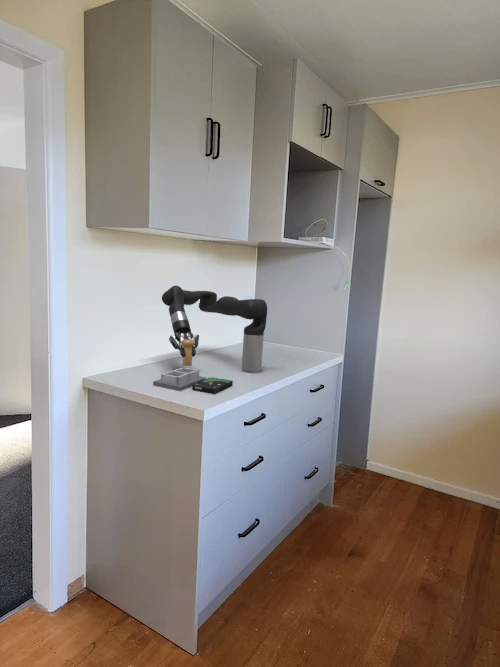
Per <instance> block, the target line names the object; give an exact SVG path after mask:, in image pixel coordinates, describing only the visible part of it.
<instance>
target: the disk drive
mask: <svg viewBox="0 0 500 667" xmlns="http://www.w3.org/2000/svg"><path fill="white" fill-rule="evenodd" d="M233 382H234V381H233V380H232V379H231V380H230V379H225V378H217V377H213V376H211V377H208V378H207V377H206V379H205V380H202V381H200V382H198V383H195V384H193V385H192V387H191V391H196V392H200V393H205V394H209V395H210V394H211V395H216V394H219V393H221V392H223V391H226V390H227V389H230V388H231V387H233V384H234V383H233Z"/></svg>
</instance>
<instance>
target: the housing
mask: <svg viewBox="0 0 500 667" xmlns="http://www.w3.org/2000/svg"><path fill="white" fill-rule="evenodd" d="M205 379H207V377H205V376H200V369H194V368H190V367H189V368H188V367H185V366H182V367H180V368H177V369H173V370H170V371H167V372H164V373H161V374H160V378H159V379H157V380H154V381H152V385H153V386H154V387H158V388H159V387H160V388H165V389H170V390H176V391H179V392H182V391H184V390H187V389H189V388H192V385H193V384H195V383H198V382H200V381H202V380H205Z"/></svg>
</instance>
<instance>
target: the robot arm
mask: <svg viewBox="0 0 500 667" xmlns="http://www.w3.org/2000/svg"><path fill="white" fill-rule="evenodd" d="M199 299H200V303H199ZM161 301H162V302H163V304H164V305H165V306H166V307H169V308H168V313H169V317H170V321H171V322H170V323H171V326H172V331H173V334H174V335H170V336H169V338H168V341H169V342H170V344H171V345H172V347H173V348H174V349H175V350H179V353H180V356H181V357H182V358H183V357H185V351H184V348H183V345H181V340H183V339H192V340H195V342H194V346H192V358H193V357H195V356H196V355H197V351H196V349H197V348H198V346H199V341H200V335H199V334H196V335H195V334H194V333H192V329H191V325H190V321H189V319H188V316H187V313H186V310H185V306H192V305H194V304H196V303H197V302H198V309H199V308H200V309H199V310H200V311H201V312H204V313H214V314H215V313H216V314H221V315H223V316H224V315H225V316H232V317H235V316H237V317H241V318H242V319H246V320H252V322H251V323H250V324H249V325H246V326H244V327H243V328H244V329H243V337H242V338H243V339H242V340H243V341H242V342H243V343H242V356H241V358H242V360H241V371H243V372H246V373H261V372H262V368H263V367H262V365H263V352H264V351H263V349H264V336H265V330H266V326H267V319H268V318H267V316H268V304H267V301H266V300H264V299H260V298H256V299H255V298H254V299H253V298H250V299H249V298H247V299H238V298H237V297H235V296H234V297H233V296H227V295H225V296H222V297H220V298H219V299H218V294H217V293H216V292H214V291H210V290H209V291H208V290H192V291H191V290H185V289H182V287H181V286H179V285H177V284H176V285H172V286H171V287H170V288H168V289H167V290H166V291H164V293H163V294H162V296H161Z"/></svg>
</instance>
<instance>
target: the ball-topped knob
mask: <svg viewBox="0 0 500 667" xmlns="http://www.w3.org/2000/svg"><path fill="white" fill-rule="evenodd" d="M194 343H195V340H194V339H193V338H192V339H183V340H181V345H183V348H184V351H185V357H182V367H192V366H193V365H192V363H193V356H192V346H194Z"/></svg>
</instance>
